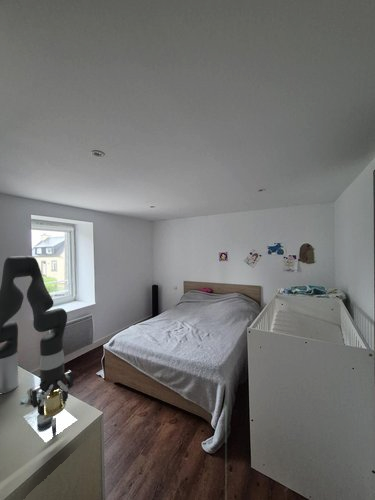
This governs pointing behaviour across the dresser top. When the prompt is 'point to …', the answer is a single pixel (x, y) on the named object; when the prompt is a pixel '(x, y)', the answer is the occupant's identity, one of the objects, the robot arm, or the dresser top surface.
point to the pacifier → (29, 396)
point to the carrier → (49, 423)
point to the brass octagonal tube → (54, 404)
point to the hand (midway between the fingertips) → (53, 407)
